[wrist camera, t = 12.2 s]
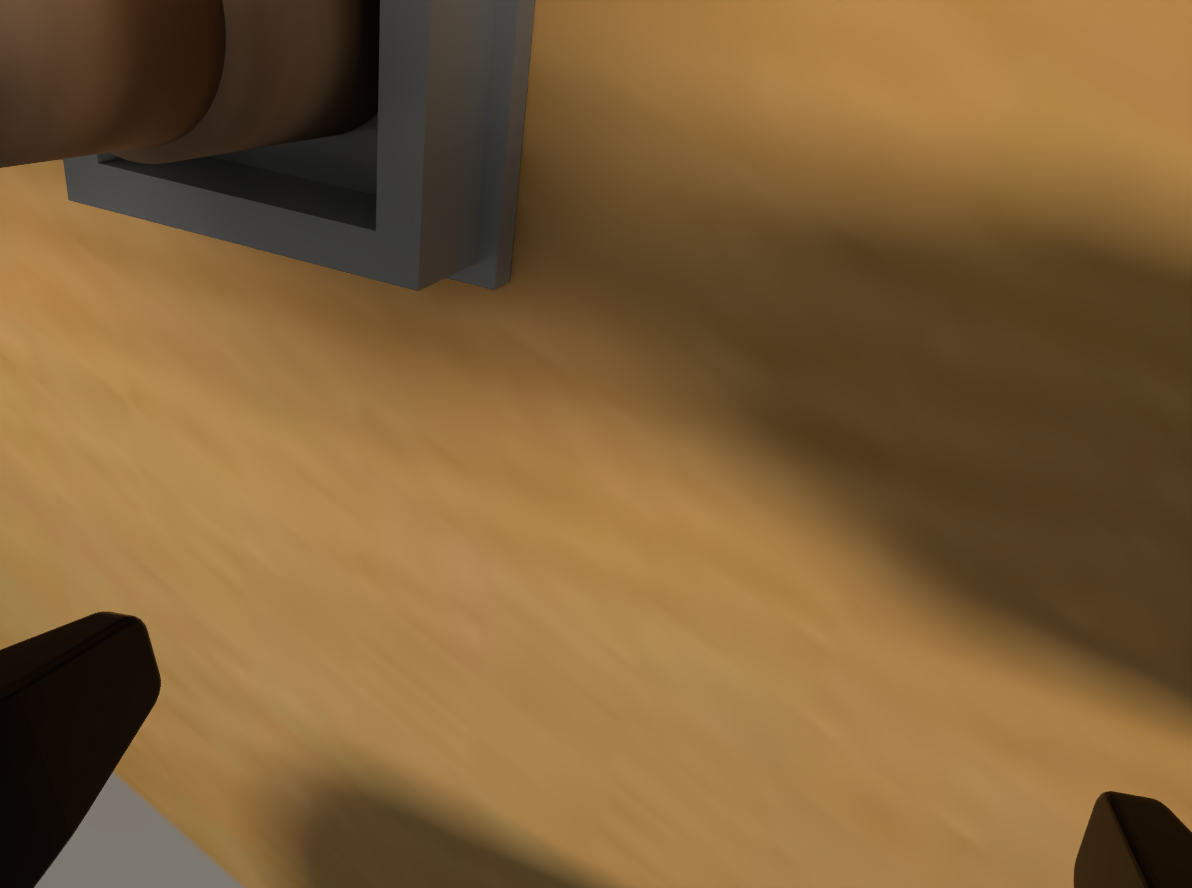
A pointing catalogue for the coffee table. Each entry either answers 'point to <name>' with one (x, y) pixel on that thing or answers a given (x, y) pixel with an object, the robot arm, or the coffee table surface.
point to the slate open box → (370, 162)
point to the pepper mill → (181, 76)
